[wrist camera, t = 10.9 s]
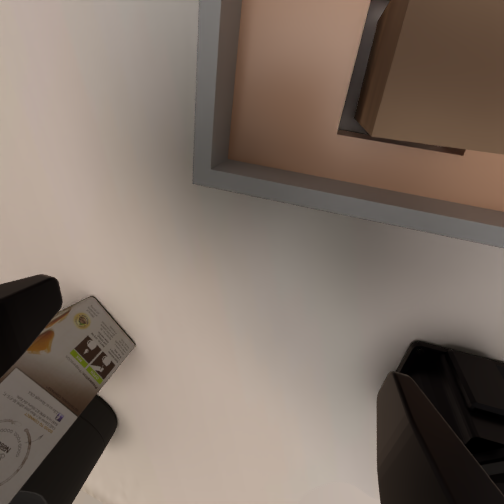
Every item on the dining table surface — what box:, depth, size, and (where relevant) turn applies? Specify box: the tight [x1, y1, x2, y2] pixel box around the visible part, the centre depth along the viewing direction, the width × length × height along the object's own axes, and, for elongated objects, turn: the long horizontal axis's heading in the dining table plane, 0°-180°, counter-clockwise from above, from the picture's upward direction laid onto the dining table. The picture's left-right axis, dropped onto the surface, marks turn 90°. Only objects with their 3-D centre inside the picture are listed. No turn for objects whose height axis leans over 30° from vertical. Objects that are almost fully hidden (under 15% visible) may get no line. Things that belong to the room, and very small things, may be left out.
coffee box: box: [0, 297, 135, 504], centre depth 22 cm, size 9×6×16 cm
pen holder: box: [9, 395, 116, 504], centre depth 31 cm, size 9×9×10 cm
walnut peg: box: [354, 0, 504, 155], centre depth 11 cm, size 4×4×8 cm
